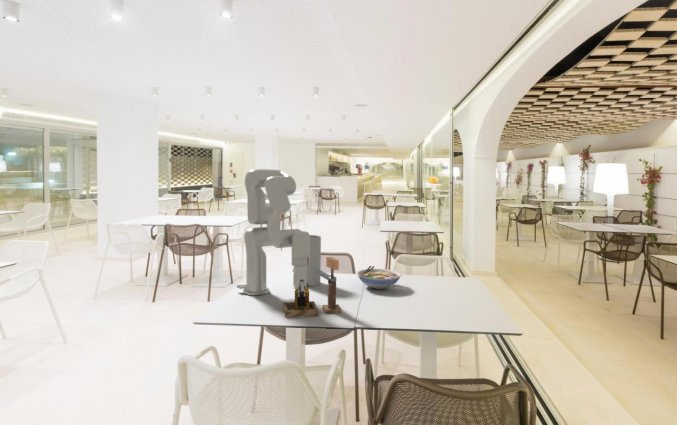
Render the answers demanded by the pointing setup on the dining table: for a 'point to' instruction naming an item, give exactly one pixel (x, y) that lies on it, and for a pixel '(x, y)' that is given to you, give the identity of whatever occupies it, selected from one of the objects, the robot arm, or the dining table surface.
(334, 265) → the t key
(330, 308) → the frame
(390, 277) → the ramen bowl
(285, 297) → the dining table surface
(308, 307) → the condiment
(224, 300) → the dining table surface
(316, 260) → the cylinder vase
